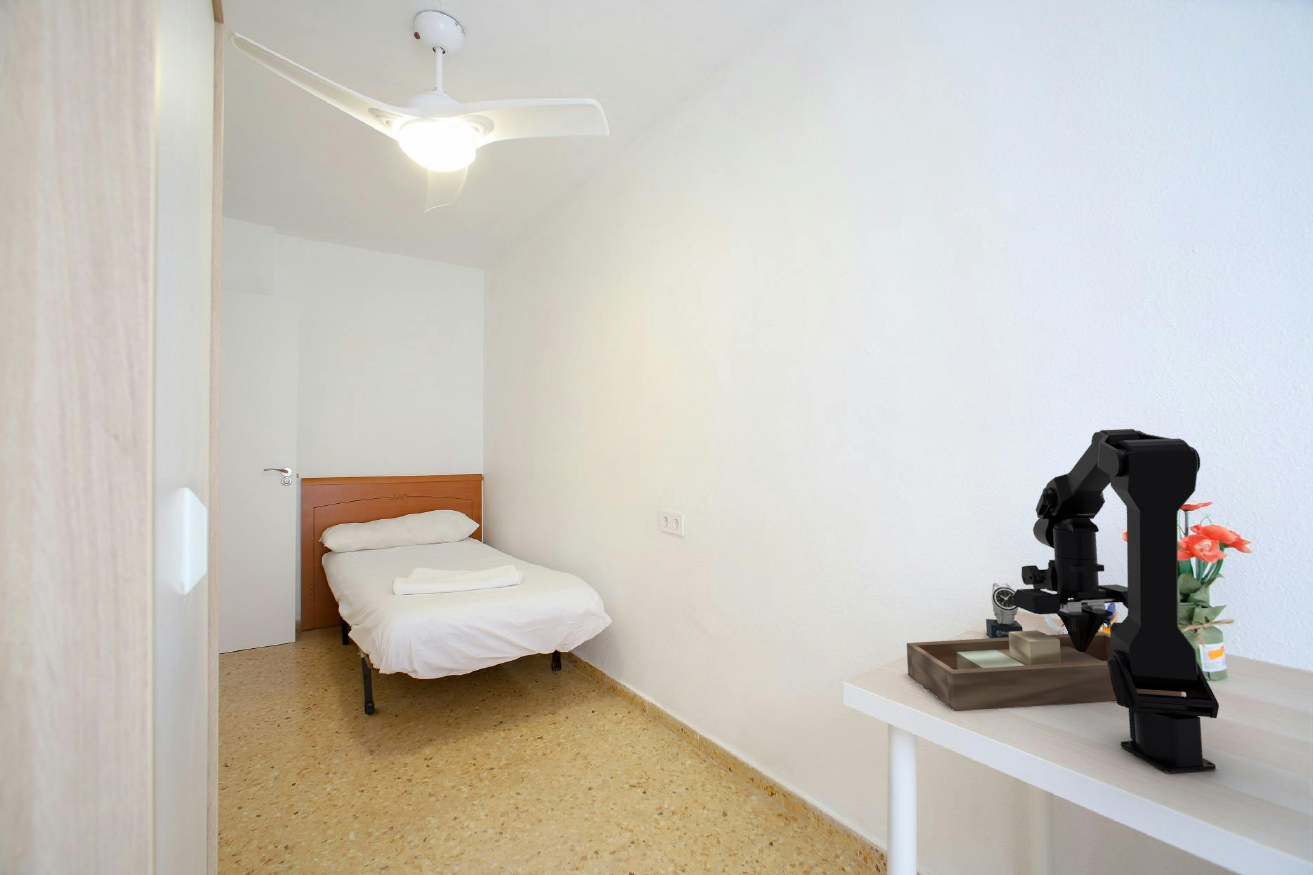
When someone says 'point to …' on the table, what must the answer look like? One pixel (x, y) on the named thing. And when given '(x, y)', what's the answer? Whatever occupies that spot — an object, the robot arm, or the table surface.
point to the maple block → (1034, 647)
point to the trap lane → (1012, 674)
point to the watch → (1002, 612)
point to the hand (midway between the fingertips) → (1080, 651)
